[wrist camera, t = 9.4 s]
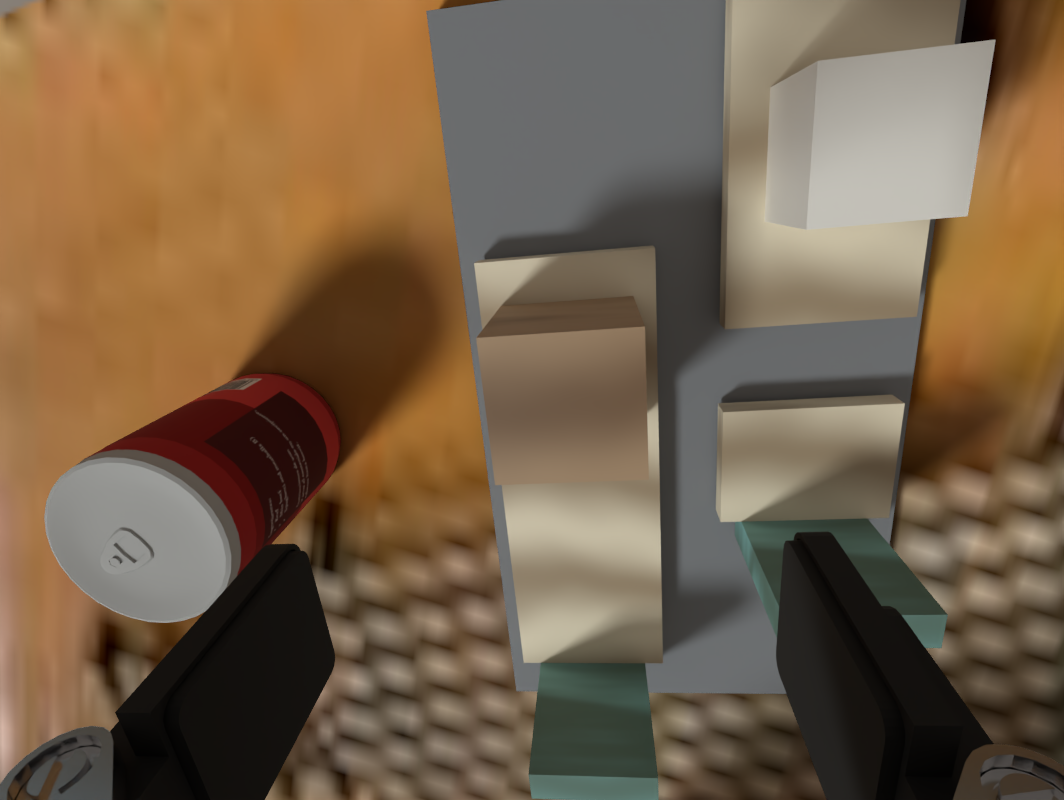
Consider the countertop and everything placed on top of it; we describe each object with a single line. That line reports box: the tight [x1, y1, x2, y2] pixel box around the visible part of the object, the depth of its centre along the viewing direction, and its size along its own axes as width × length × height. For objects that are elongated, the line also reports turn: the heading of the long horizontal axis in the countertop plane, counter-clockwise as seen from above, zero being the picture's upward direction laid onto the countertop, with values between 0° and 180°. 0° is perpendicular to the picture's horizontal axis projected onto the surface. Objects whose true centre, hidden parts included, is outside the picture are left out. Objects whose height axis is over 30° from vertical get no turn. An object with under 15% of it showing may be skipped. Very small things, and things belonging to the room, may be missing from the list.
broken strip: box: [716, 0, 960, 648], centre depth 22 cm, size 25×8×8 cm, turn 6°
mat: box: [426, 0, 966, 694], centre depth 29 cm, size 37×21×1 cm, turn 6°
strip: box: [474, 245, 663, 800], centre depth 27 cm, size 25×8×8 cm, turn 6°
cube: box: [476, 296, 649, 485], centre depth 24 cm, size 6×6×6 cm
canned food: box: [44, 373, 341, 623], centre depth 27 cm, size 8×8×11 cm
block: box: [764, 40, 996, 230], centre depth 20 cm, size 5×5×5 cm
